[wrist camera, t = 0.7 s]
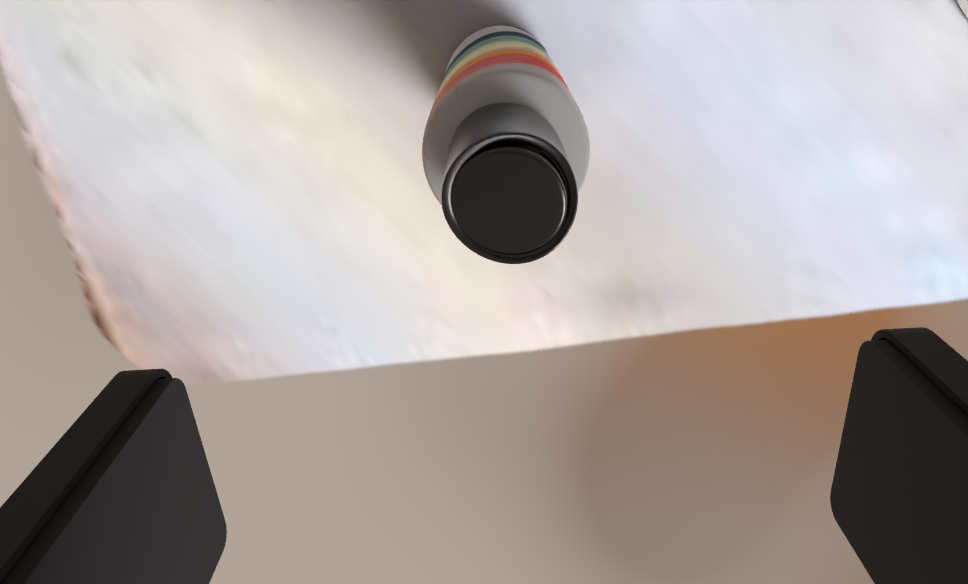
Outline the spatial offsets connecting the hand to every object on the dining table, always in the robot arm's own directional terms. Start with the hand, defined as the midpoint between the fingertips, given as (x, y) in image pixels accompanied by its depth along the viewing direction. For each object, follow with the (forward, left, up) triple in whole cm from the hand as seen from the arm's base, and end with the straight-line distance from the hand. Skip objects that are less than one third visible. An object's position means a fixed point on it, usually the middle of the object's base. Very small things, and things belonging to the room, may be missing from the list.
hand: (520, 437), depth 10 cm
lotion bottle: (0, 0, -30) cm, 30 cm away
